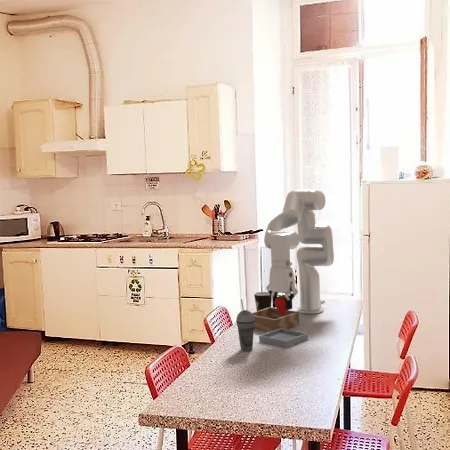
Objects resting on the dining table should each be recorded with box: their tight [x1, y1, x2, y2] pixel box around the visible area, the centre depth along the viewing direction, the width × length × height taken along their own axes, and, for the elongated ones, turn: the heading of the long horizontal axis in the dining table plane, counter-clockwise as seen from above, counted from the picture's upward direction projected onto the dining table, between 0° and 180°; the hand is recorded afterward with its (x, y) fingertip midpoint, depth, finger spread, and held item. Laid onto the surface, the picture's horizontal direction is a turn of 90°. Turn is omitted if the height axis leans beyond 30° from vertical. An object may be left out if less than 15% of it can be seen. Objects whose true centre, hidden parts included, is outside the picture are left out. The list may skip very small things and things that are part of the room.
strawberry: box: [275, 293, 287, 315], centre depth 239 cm, size 6×8×10 cm
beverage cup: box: [235, 298, 255, 353], centre depth 230 cm, size 7×7×20 cm
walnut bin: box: [251, 306, 301, 333], centre depth 263 cm, size 17×17×6 cm
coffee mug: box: [253, 291, 273, 311], centre depth 287 cm, size 12×9×10 cm
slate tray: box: [258, 328, 309, 349], centre depth 241 cm, size 14×14×2 cm
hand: (282, 307), depth 240 cm, fingers closed on strawberry, 6 cm apart
